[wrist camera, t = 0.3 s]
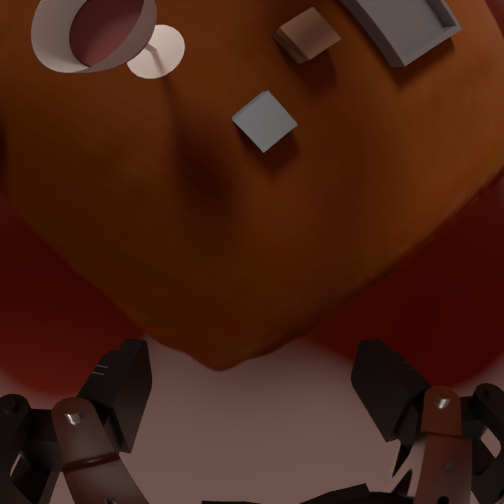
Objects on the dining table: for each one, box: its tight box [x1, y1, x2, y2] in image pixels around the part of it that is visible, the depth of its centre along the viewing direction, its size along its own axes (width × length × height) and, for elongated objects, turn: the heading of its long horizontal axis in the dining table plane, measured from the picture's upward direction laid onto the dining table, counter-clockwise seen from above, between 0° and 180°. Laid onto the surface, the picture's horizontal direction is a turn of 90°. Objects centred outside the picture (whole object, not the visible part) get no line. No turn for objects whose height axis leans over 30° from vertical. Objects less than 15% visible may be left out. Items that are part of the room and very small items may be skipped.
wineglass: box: [31, 0, 185, 78], centre depth 17 cm, size 8×9×20 cm
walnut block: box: [272, 7, 341, 64], centre depth 25 cm, size 5×5×5 cm
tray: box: [340, 0, 462, 67], centre depth 21 cm, size 16×16×4 cm
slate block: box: [232, 91, 298, 153], centre depth 30 cm, size 5×5×5 cm
